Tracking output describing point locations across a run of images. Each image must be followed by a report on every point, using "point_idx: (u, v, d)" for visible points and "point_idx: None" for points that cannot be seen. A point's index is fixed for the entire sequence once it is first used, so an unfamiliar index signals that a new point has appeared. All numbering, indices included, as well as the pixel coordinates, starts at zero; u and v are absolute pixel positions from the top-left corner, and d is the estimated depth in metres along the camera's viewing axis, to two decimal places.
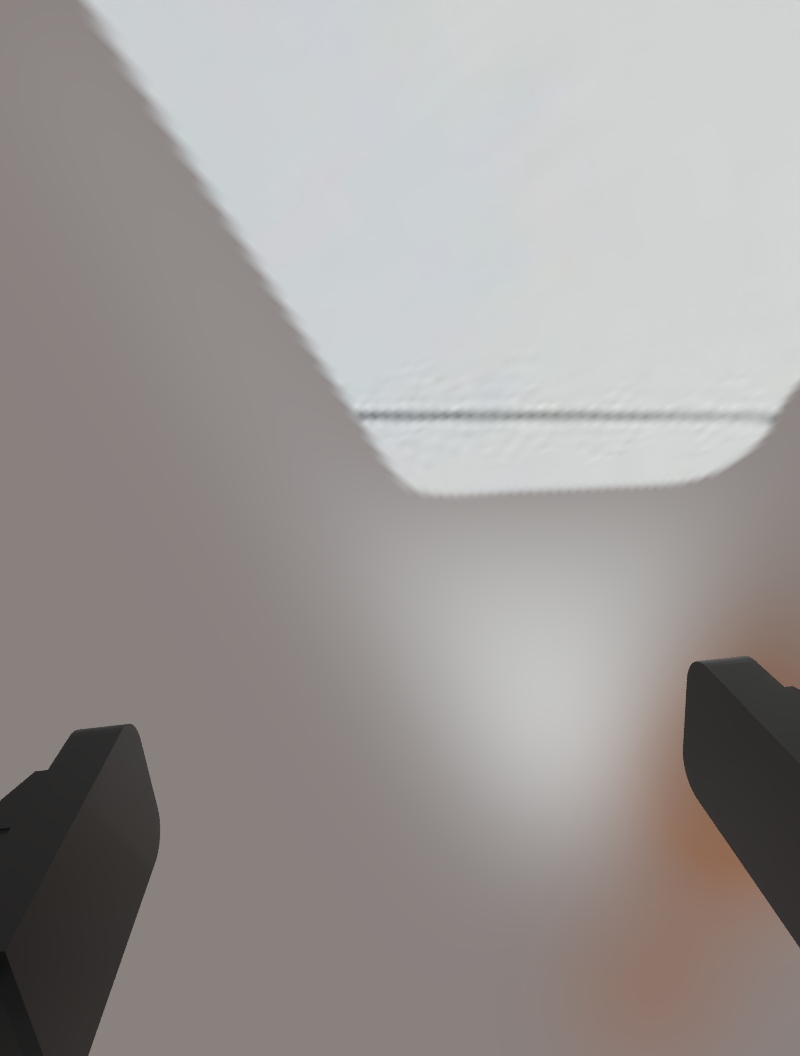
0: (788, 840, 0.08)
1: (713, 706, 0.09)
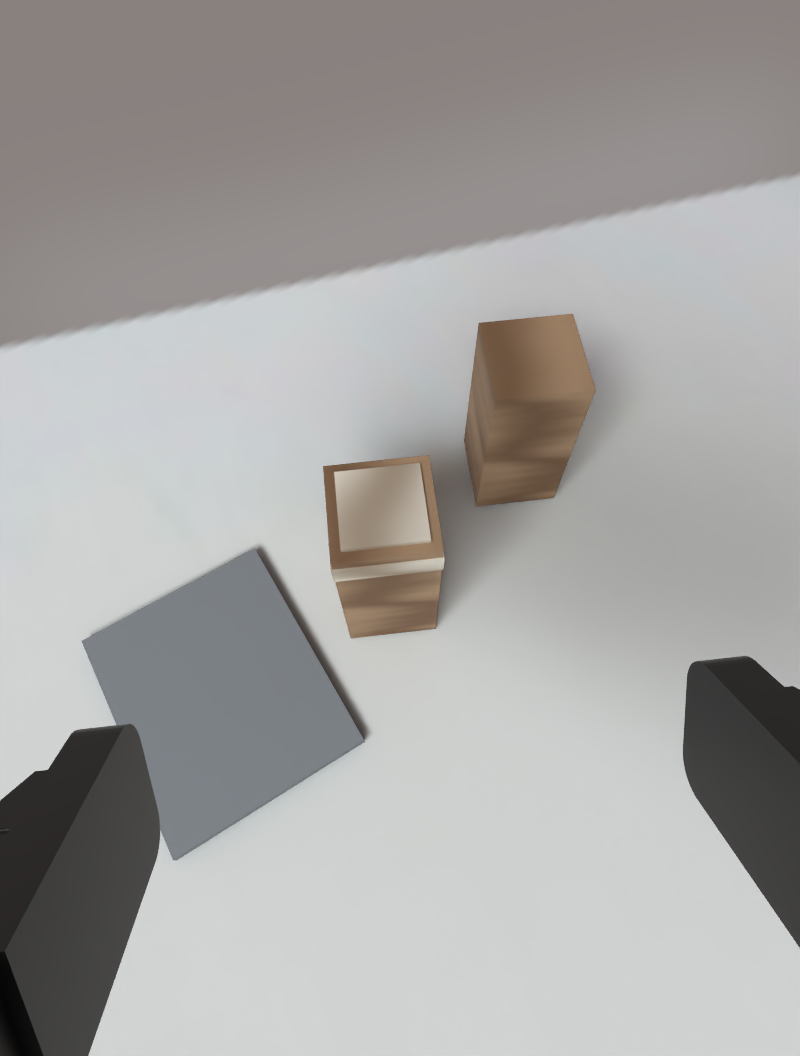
0: (788, 840, 0.08)
1: (713, 706, 0.09)
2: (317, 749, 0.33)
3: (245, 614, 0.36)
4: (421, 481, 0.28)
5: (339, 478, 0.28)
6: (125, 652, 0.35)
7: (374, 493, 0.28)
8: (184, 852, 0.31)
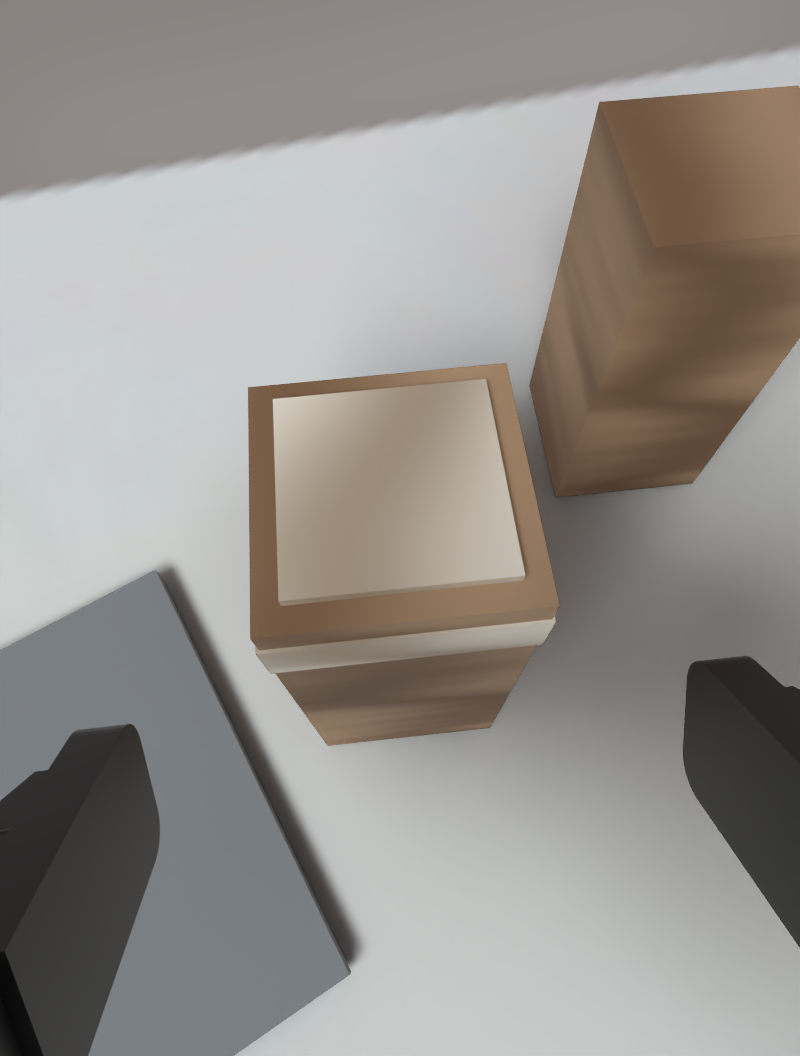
0: (787, 840, 0.08)
1: (713, 706, 0.09)
2: (251, 996, 0.16)
3: (128, 698, 0.19)
4: (491, 423, 0.11)
5: (285, 414, 0.11)
6: None
7: (372, 451, 0.11)
8: None
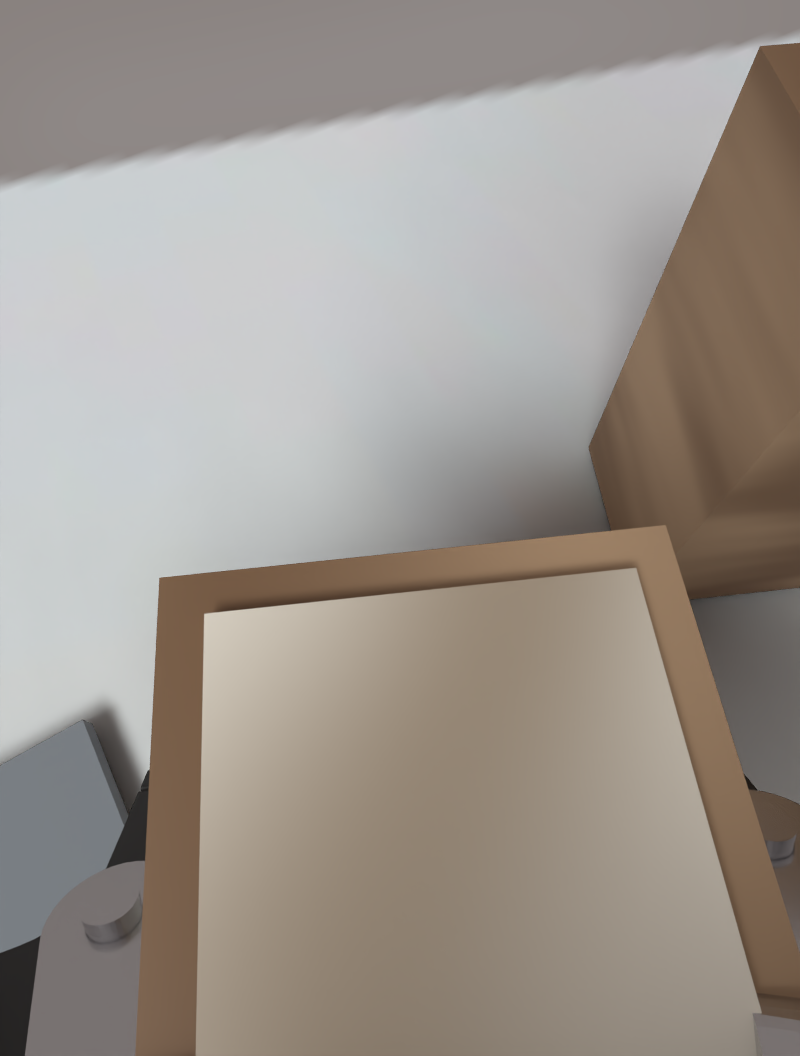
0: None
1: None
2: None
3: (34, 924, 0.13)
4: (657, 671, 0.05)
5: (228, 652, 0.05)
6: None
7: (412, 745, 0.05)
8: None
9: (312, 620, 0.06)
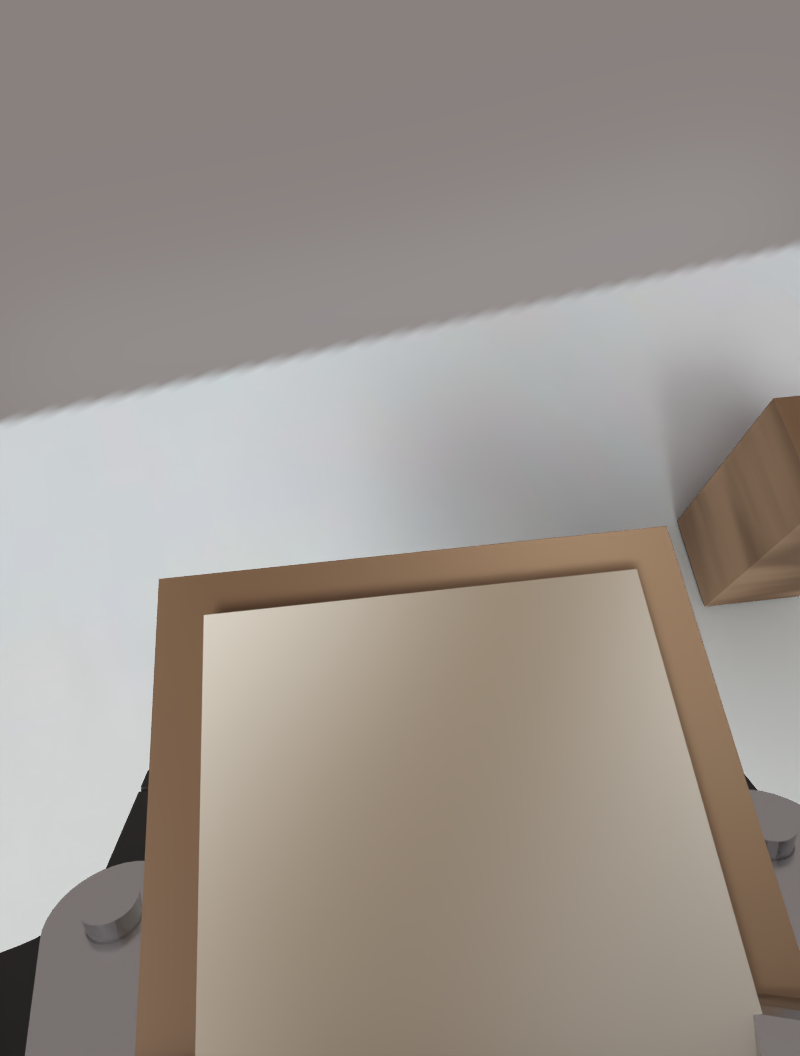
0: None
1: None
2: None
3: None
4: (658, 673, 0.05)
5: (227, 653, 0.05)
6: None
7: (412, 747, 0.05)
8: None
9: (312, 621, 0.06)
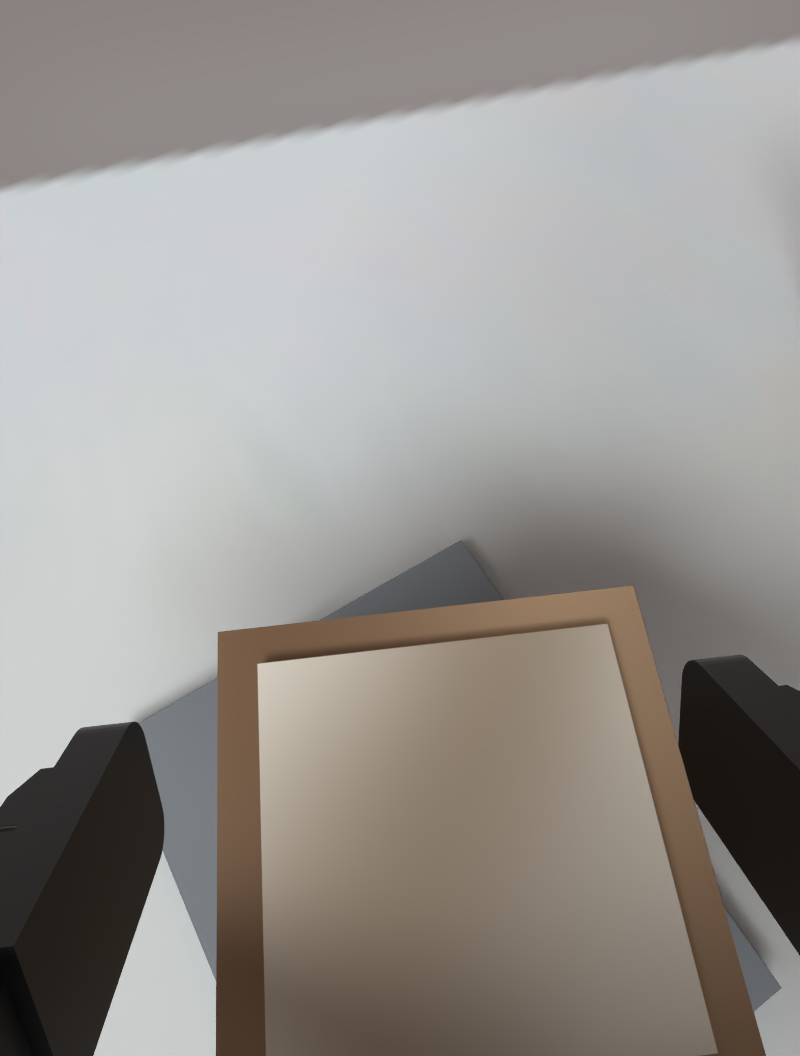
0: (781, 838, 0.08)
1: (707, 705, 0.09)
2: None
3: None
4: (623, 710, 0.07)
5: (278, 696, 0.07)
6: (212, 764, 0.16)
7: (427, 771, 0.06)
8: None
9: (345, 669, 0.07)
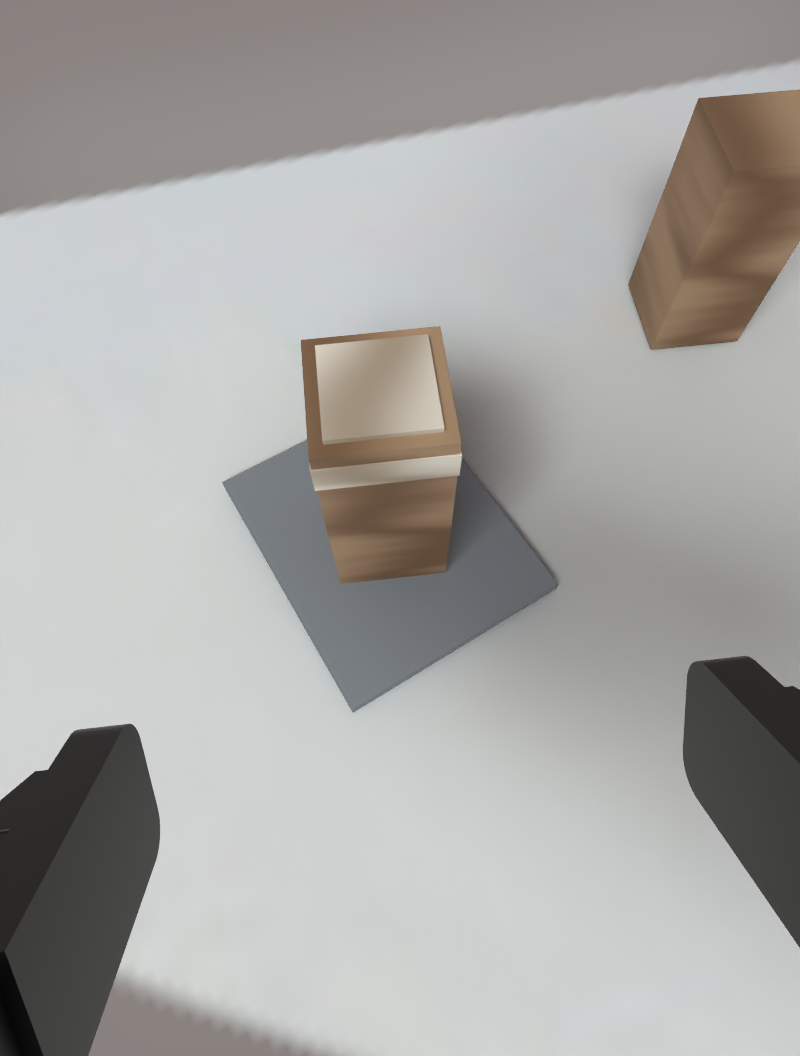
0: (787, 840, 0.08)
1: (713, 706, 0.09)
2: (505, 594, 0.29)
3: None
4: (430, 356, 0.21)
5: (321, 353, 0.21)
6: (274, 494, 0.31)
7: (368, 371, 0.21)
8: (364, 702, 0.27)
9: (343, 346, 0.21)
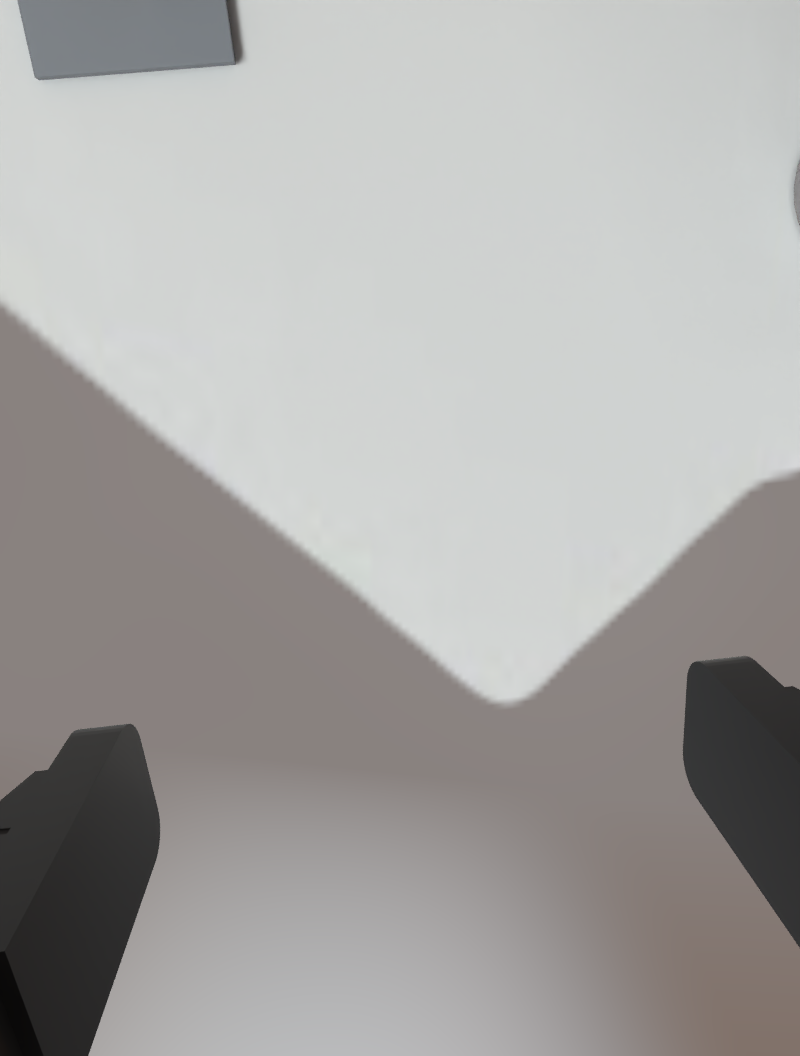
0: (788, 840, 0.08)
1: (713, 706, 0.09)
2: (188, 46, 0.34)
3: None
4: None
5: None
6: None
7: None
8: (46, 75, 0.34)
9: None
